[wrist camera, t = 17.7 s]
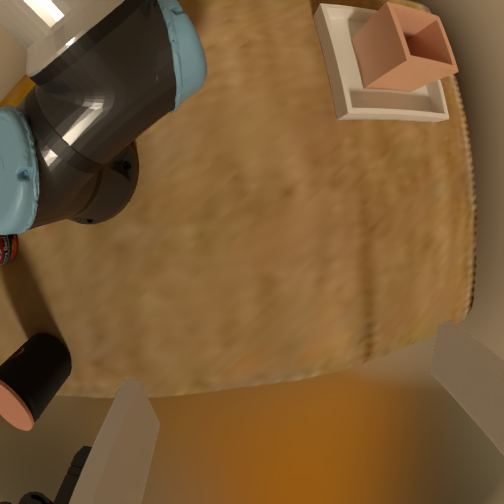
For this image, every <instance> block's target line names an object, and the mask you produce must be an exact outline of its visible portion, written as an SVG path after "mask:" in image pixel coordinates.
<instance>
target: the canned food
mask: <svg viewBox="0 0 504 504" xmlns="http://www.w3.org/2000/svg"><path fill="white" fill-rule="evenodd" d="M17 250H18V239H17V235H16V234H8V235H0V266H1V265H3V264H5V263H7V262H10V261H11V260H12V259H13V258H14V257H15V256H16V254H17Z"/></svg>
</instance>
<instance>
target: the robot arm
mask: <svg viewBox="0 0 504 504" xmlns="http://www.w3.org/2000/svg"><path fill="white" fill-rule="evenodd" d="M0 25H1V26H2V27H4V28H5V29H6V30H7V31H8V32H9V33H10V34H11V35H12V36H13V37H14V38H15V39H17V40H18V41H19V42H20V43H21V44H22V45H23V46H24V47H25V48H26V50H27V66H26V75H27V76H28V77H29V78H30V79H31V80H32V81H34V82H35V83H36V85H35V87H34V88H33V89H32V90H31V91H30V92H29V93H28V94H27V96H26V97H25V98H24V99H23V100H22V102H21V103H20V104H19V105H18V106H17V107H16V108H15V107H13V106H4V107H1V108H0V235H8V234H20V233H24V232H26V231H27V230H29V229H32V228H35V227H39V226H42V225H46V224H49V223H53V222H56V221H60V220H63V219H69V220H71V221H74V222H77V223H80V224H96V223H100V222H103V221H106V220H109V219H111V218H113V217H114V216H116V215H117V214H118V213H120V212H121V211H122V210H123V209H124V208H125V206H126V205H127V204H128V202H129V201H130V199H131V197H132V195H133V193H134V191H135V188H136V185H137V181H138V174H139V163H138V157H137V153H136V150H135V148H134V145H133V144H132V141H133V140H135V139H136V138H137V137H138V136H139V135H141V134H142V133H143V132H144V131H145V130H147V129H148V128H149V127H150V126H152V125H153V124H154V123H155V122H157V121H158V120H159V119H161V118H162V117H163V116H165V115H166V114H167V113H169V112H170V113H172V112H174V111H175V110H176V109H177V108H178V107H179V105H180V104H181V103H182V102H183V101H185V100H186V99H187V98H189V97H190V96H191V95H193V94H194V93H195V92H197V91H198V90H199V89H200V88H201V87H202V86H203V84H204V81H205V79H206V76H207V62H206V57H205V53H204V49H203V46H202V44H201V41H200V38H199V36H198V34H197V32H196V29H195V27H194V25H193V23H192V21H191V20H190V18H189V16H188V15H187V14H185V13H184V12H183V9H182V7H181V5H180V3H179V2H178V0H0ZM430 373H431V374H432V375H433V376H434V377H435V378H436V379H437V380H438V381H439V382H440V383H441V384H442V386H443V387H444V388H446V390H447V391H448V392H449V393H450V394H451V395H452V396H453V398H454V399H455V400H456V401H457V402H458V403H459V404H460V405H461V406H462V408H463V409H465V411H466V412H467V413H468V414H469V415H470V417H471V418H472V419H473V420H474V421H475V422H476V423H477V425H478V426H479V427H480V428H481V429H482V430H483V432H484V433H485V434H486V435H487V436H488V437H489V438H490V440H491V441H492V442H493V443H494V444H495V446H496V447H497V448H498V449H499V451H500V452H501V453H502V454H503V455H504V360H503V359H501V358H500V357H499V356H497V355H496V354H495V353H494V352H492V351H491V350H490V349H488V348H487V347H486V346H484V345H483V344H482V343H481V342H479V341H478V340H477V339H475V338H474V337H473V336H471V335H470V334H469V333H467V332H466V331H464V330H463V329H462V328H460V327H459V326H458V325H456V324H455V323H453V322H452V321H451V320H449V321H446V322H444V323H441V324H438V330H437V337H436V342H435V348H434V353H433V358H432V363H431V368H430ZM159 427H160V423H159V421H158V419H157V417H156V414H155V412H154V410H153V408H152V406H151V404H150V402H149V400H148V397H147V395H146V393H145V391H144V388H143V386H142V384H141V381H140V380H124V381H123V383H122V385H121V387H120V389H119V391H118V393H117V395H116V397H115V400H114V402H113V404H112V406H111V408H110V410H109V412H108V414H107V416H106V419H105V421H104V423H103V425H102V427H101V429H100V432H99V433H98V436H97V438H96V440H95V442H94V445H93V447H88V446H83V447H82V448H81V449H80V450H79V451H78V452H77V453H76V454H75V456H74V458H73V461H72V463H71V467H69V469H68V472H67V475H66V476H65V478H64V480H63V483H62V485H61V487H60V489H59V491H58V494H57V496H56V498H55V501H54V503H53V502H51V501H50V500H49V499H48V498H47V497H46V496H45V495H43V494H42V493H39V492H29V493H27V494H25V495H24V496H23V497H22V498H21V499H20V502H19V504H141V502H142V497H143V493H144V489H145V485H146V480H147V476H148V472H149V467H150V463H151V459H152V455H153V451H154V447H155V443H156V439H157V435H158V431H159ZM0 504H11V503H10V502H0Z"/></svg>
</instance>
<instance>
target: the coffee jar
mask: <svg viewBox="0 0 504 504" xmlns="http://www.w3.org/2000/svg"><path fill="white" fill-rule="evenodd" d="M71 368H72V366H71V358H70V356H69V353H68V351H67V350H66V348H65V347H64V345H63V344H62V343H61V342H60V341H59V340H58V339H56V338H55V337H53V336H51V335H49V334H45V333H38V334H35V335H34V336H32V337H31V338H30V339H29V340H28V341H27V342H26V343H24V344H23V345H22V346H21V347H20V348H19V349H18V350H17V351H16V352H15V353H14V354H12V355H11V356H10V357H9V358H8V359H7V360H6V361H5V362H4V363H3V364H2V365H1V366H0V414H1V415H2V416H3V417H4V418H5V419H6V420H7V421H8V422H9V423H11V424H12V425H13V426H15V427H17V428H19V429H22V430H25V431H28V430H30V429H31V428H32V427H33V424H34V422H35V421H36V420H37V419H38V418H39V417H40V415H41V414H42V412H43V411H44V410H45V408H46V407H47V405H48V404H49V402H50V401H51V400H52V398H53V397H54V396H55V394H56V393H57V391H58V390H59V389H60V387H61V386H62V384H63V383H64V382H65V380H66V379H67V378H68V376H69V375H70V373H71Z"/></svg>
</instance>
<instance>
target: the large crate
mask: <svg viewBox="0 0 504 504" xmlns="http://www.w3.org/2000/svg"><path fill="white" fill-rule="evenodd" d="M376 12H377V10H372V9H365V8H359V7H352V6H344V5H334V4H322V3H320V5H319V7H318V8H317V10H316V12H315V14H314V16H313V18H314V22H315V25H316V29H317V32H318V36H319V40H320V43H321V47H322V51H323V55H324V59H325V64H326V68H327V72H328V77H329V81H330V86H331V91H332V96H333V101H334V106H335V111H336V117H337V120H353V119H372V120H405V121H421V122H438V121H442V120H447V119H449V115H448V110H447V106H446V101H445V97H444V92H443V88H442V84H441V81H440V79H439V80H437V81H435V82H432V83H430V84H427V85H425V86H423V87H421V88H418V89H416V90H414V91H411V92H402V91H392V90H379V89H363V85H362V81H361V77H360V72H359V68H358V64H357V60H356V57H355V53H354V49H353V46H352V42H351V39H352V38H353V37H354V36H355V35H356V34H357V32H358V31H359V30H360V29H361V28H362V27H363V26H364V25H365V24H366V23H367V21H368V20H369V19H370V18H371V17H372V16H373V15H374V14H375V13H376Z"/></svg>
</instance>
